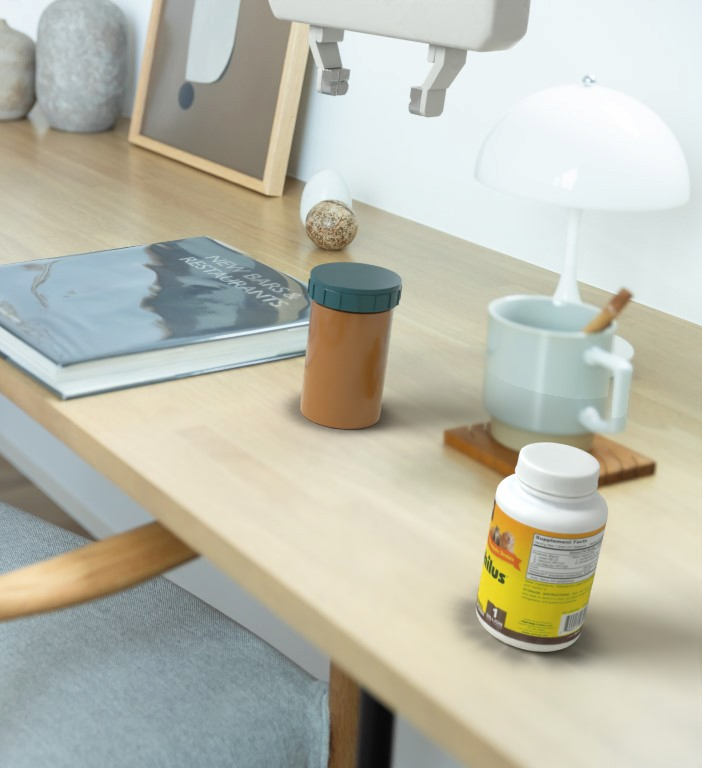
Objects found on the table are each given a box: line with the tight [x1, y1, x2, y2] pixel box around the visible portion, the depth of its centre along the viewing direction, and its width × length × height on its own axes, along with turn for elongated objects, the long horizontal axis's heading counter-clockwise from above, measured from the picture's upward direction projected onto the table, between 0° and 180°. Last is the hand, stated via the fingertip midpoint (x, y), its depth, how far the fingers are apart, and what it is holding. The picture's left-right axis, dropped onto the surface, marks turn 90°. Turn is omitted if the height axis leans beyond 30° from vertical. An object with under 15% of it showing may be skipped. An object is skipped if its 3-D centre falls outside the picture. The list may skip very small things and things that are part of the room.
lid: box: [306, 261, 403, 312], centre depth 85 cm, size 7×7×2 cm
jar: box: [299, 298, 395, 430], centre depth 87 cm, size 6×6×10 cm
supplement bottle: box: [475, 441, 609, 653], centre depth 62 cm, size 6×6×10 cm
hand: (376, 104), depth 80 cm, fingers open, 7 cm apart
